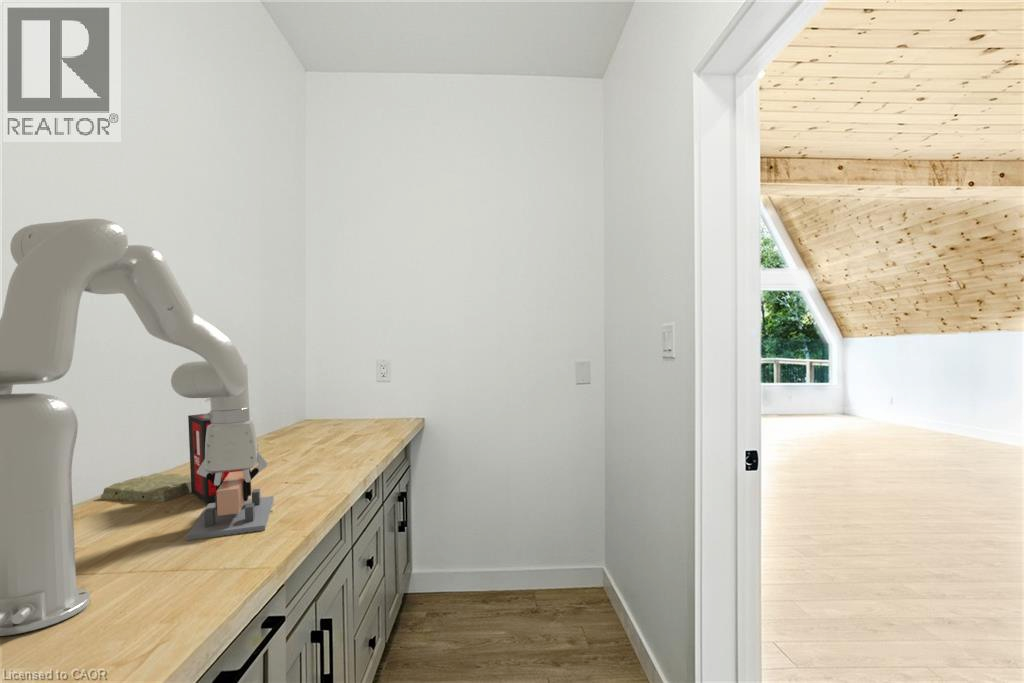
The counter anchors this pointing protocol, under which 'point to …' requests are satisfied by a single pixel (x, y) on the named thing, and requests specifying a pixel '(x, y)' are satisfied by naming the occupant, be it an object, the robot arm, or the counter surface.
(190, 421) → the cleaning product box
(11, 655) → the counter surface
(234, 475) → the clay strip
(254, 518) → the grey plate with pegs
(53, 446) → the robot arm
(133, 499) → the decorative tile
